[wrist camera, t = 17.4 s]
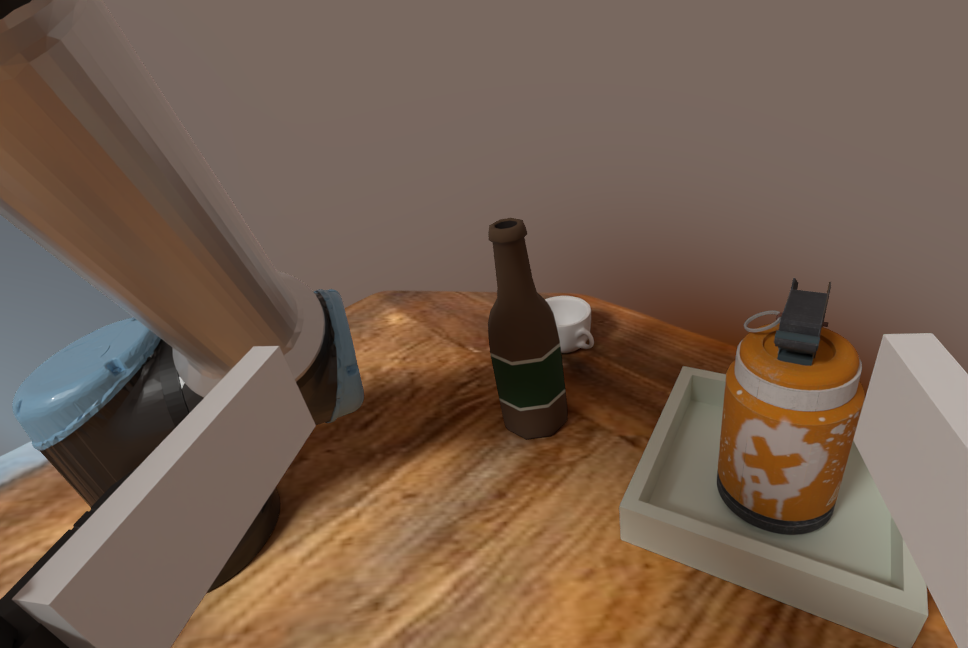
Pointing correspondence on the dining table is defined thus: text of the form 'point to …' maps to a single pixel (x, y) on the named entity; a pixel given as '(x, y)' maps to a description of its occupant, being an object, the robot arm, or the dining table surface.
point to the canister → (789, 418)
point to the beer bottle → (524, 341)
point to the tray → (762, 554)
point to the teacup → (572, 322)
